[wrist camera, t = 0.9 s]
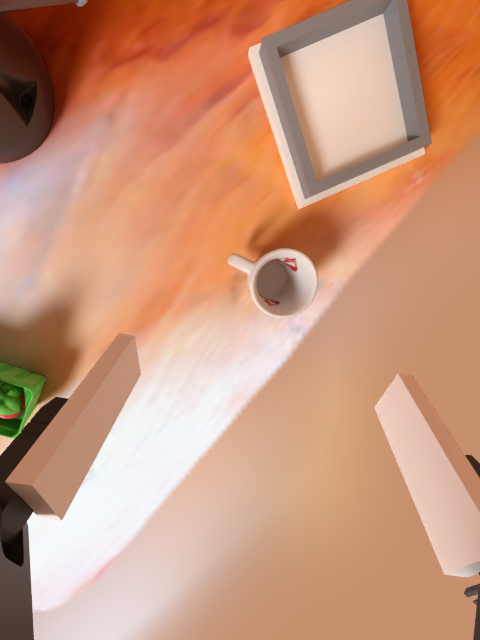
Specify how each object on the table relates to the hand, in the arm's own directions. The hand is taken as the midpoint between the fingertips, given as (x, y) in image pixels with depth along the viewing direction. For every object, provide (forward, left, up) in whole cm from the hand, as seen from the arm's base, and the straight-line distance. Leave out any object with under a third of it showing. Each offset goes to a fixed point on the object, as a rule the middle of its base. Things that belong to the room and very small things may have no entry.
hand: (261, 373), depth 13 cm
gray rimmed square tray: (-16, +23, -24) cm, 37 cm away
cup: (-1, +6, -24) cm, 25 cm away
